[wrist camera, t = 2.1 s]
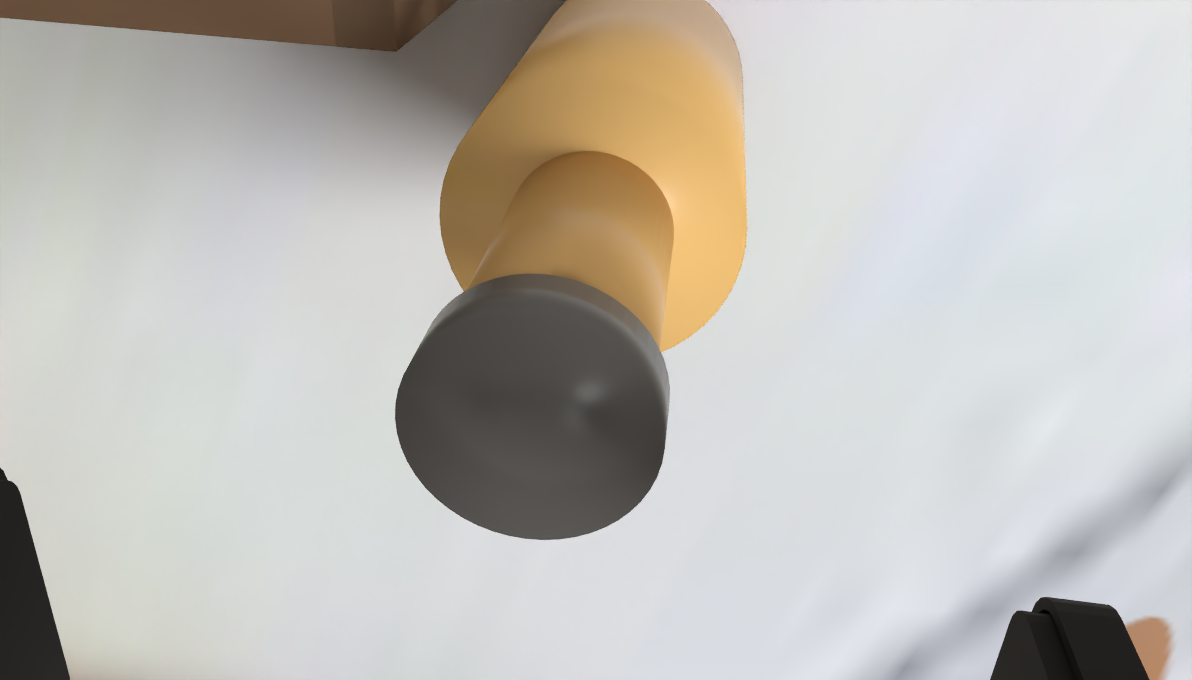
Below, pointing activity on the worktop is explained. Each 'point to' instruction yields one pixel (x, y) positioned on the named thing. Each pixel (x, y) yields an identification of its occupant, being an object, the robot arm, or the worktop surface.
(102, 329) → the worktop surface
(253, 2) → the open wooden box
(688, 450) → the worktop surface
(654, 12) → the amber bottle
